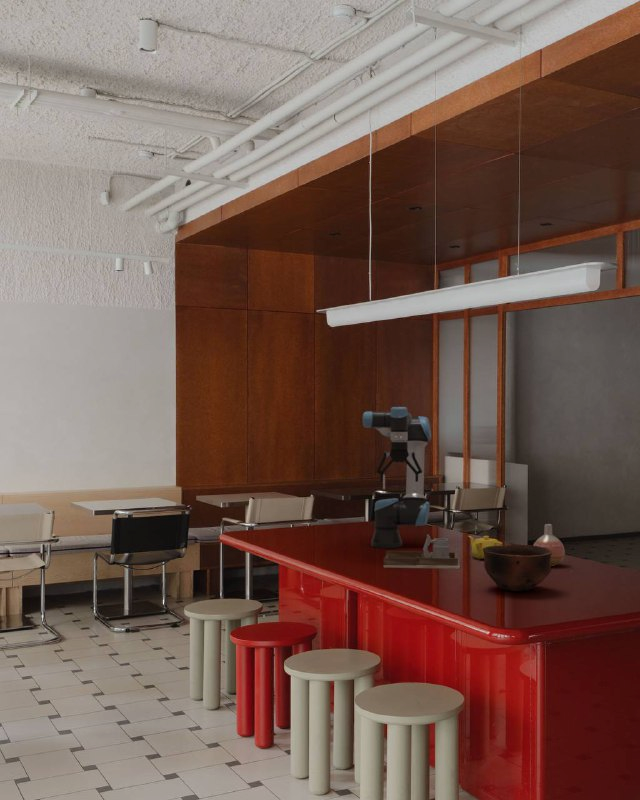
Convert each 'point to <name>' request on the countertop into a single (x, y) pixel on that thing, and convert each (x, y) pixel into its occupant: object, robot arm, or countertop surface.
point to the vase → (551, 545)
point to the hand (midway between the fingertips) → (399, 489)
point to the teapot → (482, 545)
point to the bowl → (517, 566)
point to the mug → (437, 548)
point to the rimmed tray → (419, 560)
